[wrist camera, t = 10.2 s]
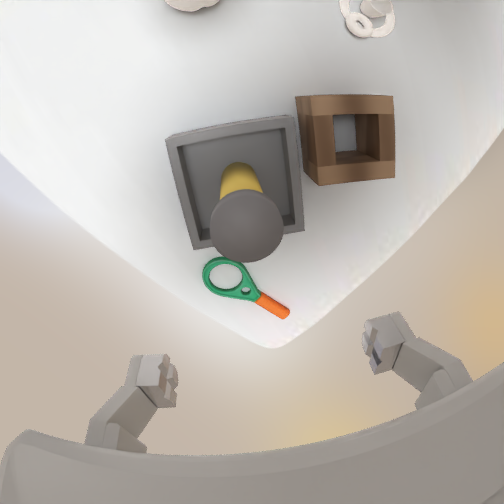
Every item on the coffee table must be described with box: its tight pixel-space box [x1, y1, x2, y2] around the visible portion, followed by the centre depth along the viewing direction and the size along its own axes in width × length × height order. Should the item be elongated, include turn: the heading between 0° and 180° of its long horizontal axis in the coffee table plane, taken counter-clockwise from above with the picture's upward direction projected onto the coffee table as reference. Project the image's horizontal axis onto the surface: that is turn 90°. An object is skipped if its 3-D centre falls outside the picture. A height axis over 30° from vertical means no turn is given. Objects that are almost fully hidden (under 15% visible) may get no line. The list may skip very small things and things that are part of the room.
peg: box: [210, 162, 284, 263], centre depth 25 cm, size 5×5×14 cm
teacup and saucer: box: [339, 0, 395, 38], centre depth 20 cm, size 9×8×4 cm
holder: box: [295, 94, 395, 186], centre depth 27 cm, size 9×9×6 cm
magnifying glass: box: [202, 257, 290, 319], centre depth 40 cm, size 15×6×2 cm, turn 49°
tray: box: [165, 115, 305, 250], centre depth 30 cm, size 13×13×4 cm
